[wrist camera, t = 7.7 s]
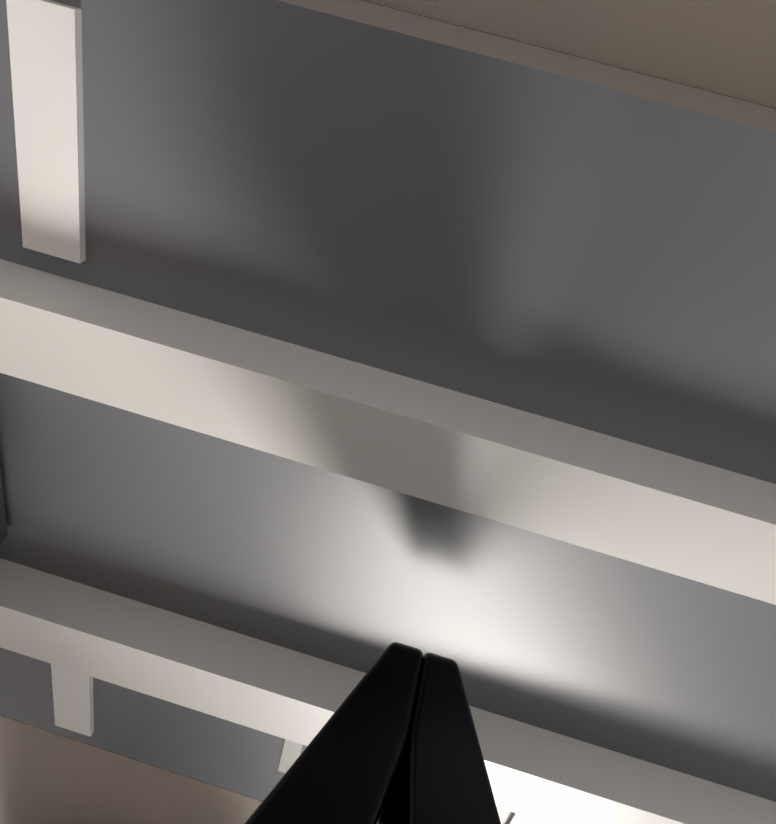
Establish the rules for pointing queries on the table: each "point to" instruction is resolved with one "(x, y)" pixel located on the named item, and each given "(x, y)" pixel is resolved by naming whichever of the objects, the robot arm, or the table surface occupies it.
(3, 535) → the fader
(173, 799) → the table surface
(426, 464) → the console
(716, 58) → the table surface
